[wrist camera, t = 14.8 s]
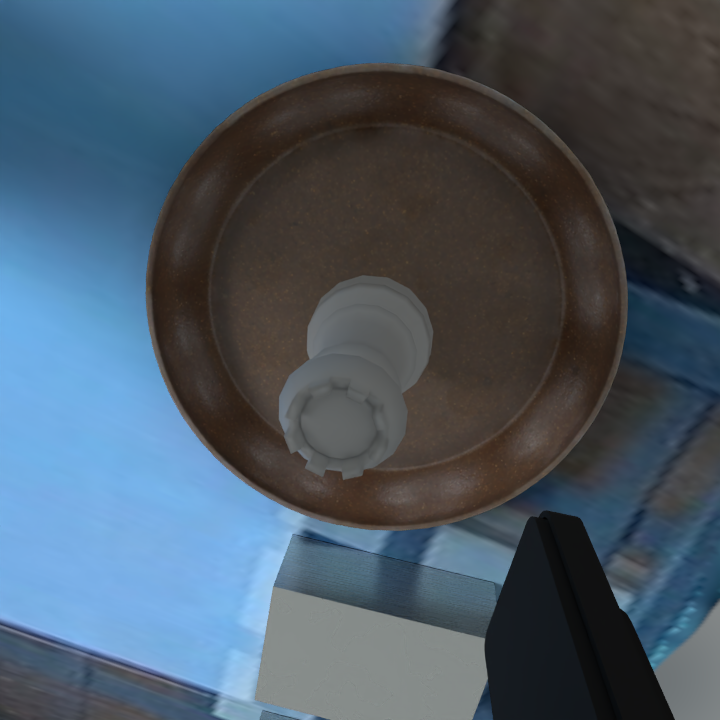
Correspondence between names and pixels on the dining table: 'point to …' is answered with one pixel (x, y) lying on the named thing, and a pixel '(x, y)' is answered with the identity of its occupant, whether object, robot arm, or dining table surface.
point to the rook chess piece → (356, 376)
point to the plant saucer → (401, 264)
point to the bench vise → (373, 637)
